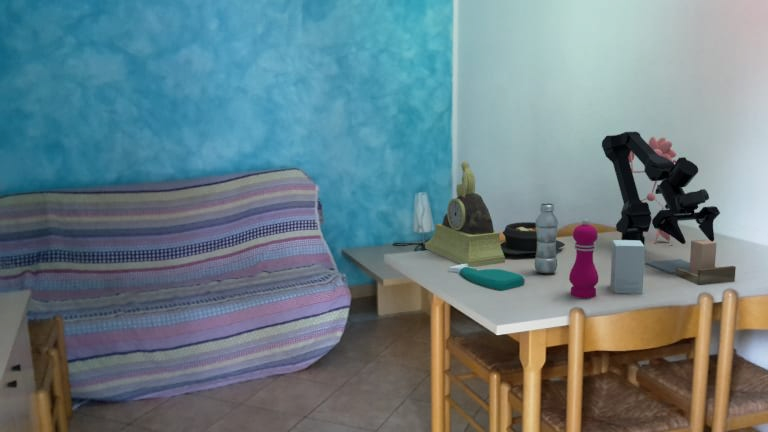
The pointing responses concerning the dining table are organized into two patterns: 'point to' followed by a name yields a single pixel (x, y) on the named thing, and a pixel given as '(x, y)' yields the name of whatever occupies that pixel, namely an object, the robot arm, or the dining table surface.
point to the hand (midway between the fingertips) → (698, 242)
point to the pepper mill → (584, 262)
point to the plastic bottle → (546, 239)
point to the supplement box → (627, 266)
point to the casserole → (522, 239)
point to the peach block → (702, 255)
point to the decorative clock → (467, 228)
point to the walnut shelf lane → (709, 275)
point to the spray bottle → (490, 277)
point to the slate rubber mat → (670, 265)
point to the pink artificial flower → (662, 150)
